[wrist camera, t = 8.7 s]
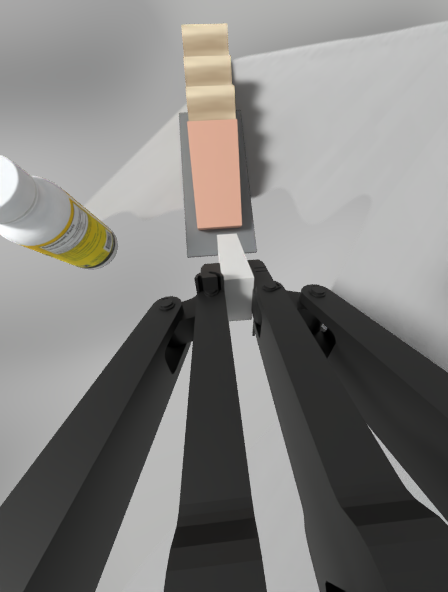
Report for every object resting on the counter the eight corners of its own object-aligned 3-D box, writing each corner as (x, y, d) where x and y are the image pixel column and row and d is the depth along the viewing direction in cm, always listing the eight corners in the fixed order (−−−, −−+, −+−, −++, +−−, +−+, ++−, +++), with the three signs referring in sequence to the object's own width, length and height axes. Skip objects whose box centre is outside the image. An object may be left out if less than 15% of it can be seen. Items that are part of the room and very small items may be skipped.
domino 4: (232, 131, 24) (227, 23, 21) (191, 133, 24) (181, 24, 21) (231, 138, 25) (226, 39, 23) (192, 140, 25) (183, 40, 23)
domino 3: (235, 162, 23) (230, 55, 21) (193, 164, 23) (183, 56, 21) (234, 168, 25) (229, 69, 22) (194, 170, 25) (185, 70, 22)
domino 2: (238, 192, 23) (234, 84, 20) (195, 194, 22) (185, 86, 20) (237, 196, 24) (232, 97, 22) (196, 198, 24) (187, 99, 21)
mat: (256, 252, 23) (256, 251, 23) (187, 257, 23) (187, 256, 23) (239, 112, 26) (240, 110, 26) (179, 115, 26) (178, 112, 26)
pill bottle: (62, 241, 23) (-81, 169, 12) (104, 217, 24) (5, 127, 13) (85, 280, 22) (-44, 241, 11) (128, 254, 23) (45, 193, 12)
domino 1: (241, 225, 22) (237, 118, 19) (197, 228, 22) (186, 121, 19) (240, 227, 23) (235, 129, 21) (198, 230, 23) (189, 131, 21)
